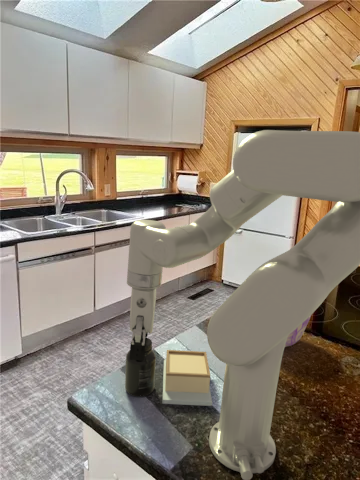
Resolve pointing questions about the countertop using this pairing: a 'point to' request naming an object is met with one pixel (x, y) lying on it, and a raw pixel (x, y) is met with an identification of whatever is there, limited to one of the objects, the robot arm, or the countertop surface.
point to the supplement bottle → (141, 372)
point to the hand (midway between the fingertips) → (138, 347)
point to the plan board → (186, 378)
